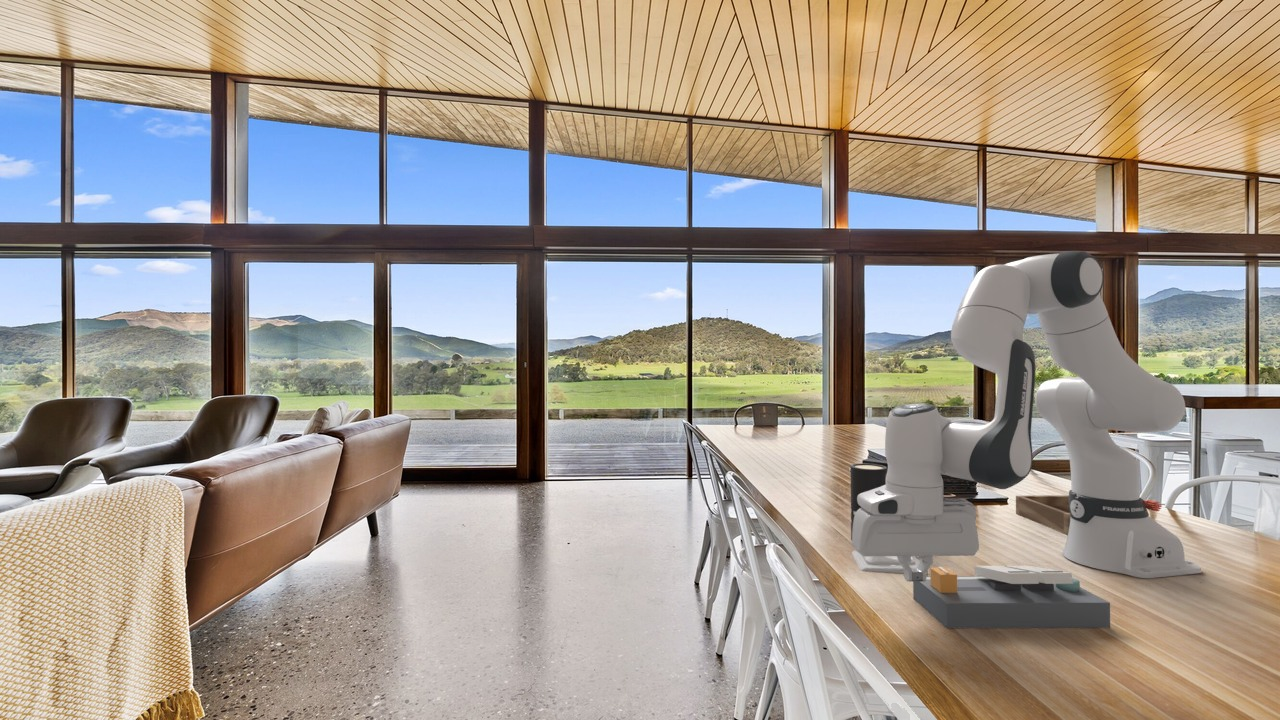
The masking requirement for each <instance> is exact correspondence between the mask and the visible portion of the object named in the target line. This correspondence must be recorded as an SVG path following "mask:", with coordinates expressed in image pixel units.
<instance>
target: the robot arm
mask: <svg viewBox="0 0 1280 720" xmlns="http://www.w3.org/2000/svg"><path fill="white" fill-rule="evenodd" d="M1103 287H1104V271H1103V267H1102V266H1101V263H1100V261H1099V260H1098V259H1097V257H1095V256H1093V255H1092V254H1090V253H1089V252H1087V251H1084V250H1067V251H1066V250H1064V251H1061V252H1059V253H1049V254H1040V255H1033V256H1028V257H1026V258H1025V257H1024V259H1018V260H1015V261H1011V262H1007V263H1005V264H994V265H989V266H986V267H984V268H982V269H981V270H980V271H978V272H977V273H976V274H975V275H974V277H973V279H972V280H971V282H970V284H969V286H968V287H967V289H966V290H965V293H964V295H963V296H962V299H961V301H960V303H959V306H958V309H957V311H956V315H955V316H954V320H953V322H952V326H951V332H950V339H951V340H950V341H951V344H952V346H953V348H954V349H955V351H956V352H957V354H959V355H960V356H961V357H962V358H963V359H964V360H966V361H967V362H969V363H970V364H972V365H974V366H977V367H978V368H981V369H984V370H986V371H988V372H991V373H993V374H996V376H997V391H996V392H997V393H996V398H995V408H994V417H993V419H992V420H991V421H990V422H988V423H986V424H979V423H968V422H960V421H953V420H951V419H949V418H946V417H944V416H943V415H941V414H940V413H939V410H938V407H936V405H933V404H930V403H924V402H922V403H921V402H920V403H919V402H915V403H914V402H913V403H905V404H900V405H898V406H895V407H893V408H891V410H890V411H889V413H888V417H887V420H886V425H885V426H886V427H885V436H884V437H885V438H884V442H885V443H884V456H885V459H886V461H887V463H888V471H887V474H886V485H883V486H881V487H878V488H875V489H872V490H869V491H866V492H863V493H860V494H859V495H858V496H857V502H858V504H859V505H860V506H861V507H862V508H860V509H858V510H857V512H856V513H855V516H854V521H853V530H852V540H851V542H852V547H853V548H854V549H855V550H856V551H857V552H859V553H860V554H861V555H862V556H866V557H867V556H897V558H898V560H899V562H900V563H901V565H902V567H903V568H904V573H903V576H904V579H905V581H906V582H912V583H913V581H917V582H922V581H926V576H927V574H926V572H927V571H928V570H929V569H930V568H931V566H932V564H933V562H934V557H952V556H953V557H954V556H955V557H957V556H958V557H960V556H962V557H963V556H965V557H966V556H969V557H971V556H972V557H973V556H975V555H976V554H977V553H978V551H979V549H980V544H979V543H980V542H979V534H978V533H979V532H978V529H977V524H976V522H977V521H976V520H977V508H976V507H975V505H974V504H973V503H972V502H971V501H968V499H966V498H957V499H955V498H953V499H952V498H944V480H943V478H942V475H944V476H949V477H951V478H956V479H962V480H966V481H971V482H976V483H978V484H981V485H985V486H988V487H991V488H995V489H998V490H1006V489H1010V488H1012V487H1014V486H1016V485H1017V484H1019V483H1021V482H1023V480H1025V478H1027V476H1029V474H1030V473H1031V470H1032V467H1033V445H1032V425H1033V424H1032V422H1033V411H1034V405H1035V408H1036V411H1037V412H1038V414H1039V415H1040V416H1041V418H1043V419H1044V420H1046V421H1047V422H1048V423H1049V424H1051V426H1052V427H1053V428H1054V429H1055V430H1056V431H1057V433H1058V434H1059V436H1060V437H1061V439H1062V441H1063V443H1064V445H1065V448H1066V450H1067V454H1068V458H1069V465H1070V466H1069V467H1070V468H1069V469H1070V481H1071V482H1070V483H1071V487H1070V490H1068V495H1069V510H1070V515H1071V517H1070V525H1069V531H1068V535H1067V537H1066V541H1065V545H1064V548H1063V550H1062V556H1064V558H1066V559H1068V560H1070V561H1072V562H1074V563H1077V564H1079V565H1083V566H1087V567H1090V568H1093V569H1098V570H1102V571H1107V572H1114V573H1118V574H1124V575H1128V576H1131V577H1134V578H1135V577H1136V578H1140V579H1153V578H1162V577H1163V578H1164V577H1173V576H1184V575H1193V574H1201V573H1202V571H1203V570H1202V567H1200V566H1199V565H1198V564H1196V563H1195V562H1193V561H1191V560H1189V559H1186V558H1185V551H1184V550H1185V549H1184V546H1183V543H1182V541H1181V539H1180V538H1179V537H1178V536H1177V535H1176V534H1174V533H1173V532H1171V531H1170V530H1168V529H1167V528H1166V527H1164V526H1163V525H1162V524H1160V523H1158V521H1156V520H1155V519H1153V518H1152V517H1151V516H1150V514H1149V511H1148V510H1150V511H1153V512H1156V513H1157V512H1160V510H1161V509H1162V504H1160V502H1159V501H1156V500H1152V499H1147V500H1144V499H1143V498H1141V496H1140V464H1139V462H1138V460H1137V458H1136V456H1134V455H1133V454H1132V453H1130V452H1129V451H1127V450H1125V449H1124V448H1122V447H1120V446H1118V445H1117V443H1115V441H1114V440H1113V438H1112V437H1111V435H1110V432H1109V430H1110V431H1121V432H1129V433H1156V432H1169V431H1170V430H1173V429H1174V428H1175V427H1177V426H1178V425H1179V423H1181V422H1182V420H1183V418H1184V416H1185V412H1186V403H1185V399H1184V396H1183V395H1182V393H1181V391H1180V390H1179V389H1178V388H1177V387H1176V386H1175V385H1173V384H1172V383H1170V382H1167V381H1165V380H1163V379H1161V378H1159V377H1156V376H1155V375H1153V374H1152V373H1150V372H1148V371H1147V370H1146V369H1144V368H1143V367H1141V366H1140V365H1139V363H1137V362H1135V360H1134V359H1132V358H1131V357H1130V356H1129V354H1128V353H1127V352H1126V351H1125V350H1124V348H1123V346H1122V345H1121V342H1120V340H1119V338H1118V337H1117V334H1116V332H1115V329H1114V326H1113V324H1112V321H1111V318H1110V316H1109V315H1110V314H1109V312H1108V310H1107V308H1106V305H1105V302H1104V301H1103V298H1102V297H1101V291H1102V289H1103ZM1034 314H1037V317H1038V321H1039V324H1040V327H1041V331H1042V333H1043V335H1044V339H1045V341H1046V343H1047V346H1048V349H1049V351H1050V355H1051V357H1052V359H1053V361H1054V362H1055V363H1056V365H1058V366H1059V367H1060V368H1061V369H1063V370H1066V371H1067V372H1069V373H1072V374H1074V375H1075V376H1067V377H1066V376H1065V377H1058V378H1053V379H1047V380H1046V381H1045V380H1044V381H1043V382H1042V383H1041V384H1040V385H1039V387H1038V389H1036V393H1035V387H1036V386H1035V384H1036V358H1035V354H1034V353H1035V352H1034V351H1033V349H1032V347H1031V346H1030V345H1029V343H1027V342H1025V341H1024V339H1023V337H1024V336H1023V333H1024V327H1025V324H1026V320H1027V316H1028V315H1034ZM1034 395H1035V396H1034ZM911 556H915V557H918V559H920V560H919V561H920V563H919V565H918V567H917V568H910V566H909V564H908V562H911Z"/></svg>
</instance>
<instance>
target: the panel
mask: <svg viewBox="0 0 1280 720" xmlns="http://www.w3.org/2000/svg"><path fill="white" fill-rule="evenodd" d="M912 584H913V585H912V586H913V587H912V589H913V592H912V593H913V594H912V595H913V600H914V601H915V602H917V604H919V605H920V606H921V607H922V608H924V610H926V611H927V612H928V613H929V614H930V615H931V616H932V617H933V618H935V619H936V620H937V621H938V622H939V623H940V624H941V625H943V626H944V628H946V629H1072V628H1073V629H1077V628H1078V629H1086V628H1089V629H1091V628H1092V629H1095V628H1096V629H1097V628H1098V629H1101V628H1103V629H1106V628H1107V629H1108V628H1110V629H1111V602H1110V601H1108V600H1106V599H1104V598H1103V597H1100V596H1098V595H1097V594H1094V593H1092V592H1091V591H1089V590H1087V589H1085V588H1082V587H1080V591H1079V592H1069V591H1064V590H1061V589H1059V588H1057V587H1056V584H1045V583H1040V582H1039V584H1010V583H1006V582H1001V581H997V580H993V579H989V578H984V577H980V576H976V575H969V576H968V575H959V576H958V575H957V593H940V592H939V591H938V590H936V589H935V588H934V587H932V586H931V580H930V575H929V576H927V575H926V581H922V582H917V581H913V582H912Z"/></svg>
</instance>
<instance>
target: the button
mask: <svg viewBox="0 0 1280 720" xmlns="http://www.w3.org/2000/svg"><path fill="white" fill-rule="evenodd" d="M1072 579H1073V584H1056V587H1057V588H1059V589H1061V590H1064V591H1069V592H1079V591H1080V586H1081V584H1080V581H1079V580H1078V579H1077V578H1073V577H1072Z"/></svg>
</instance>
